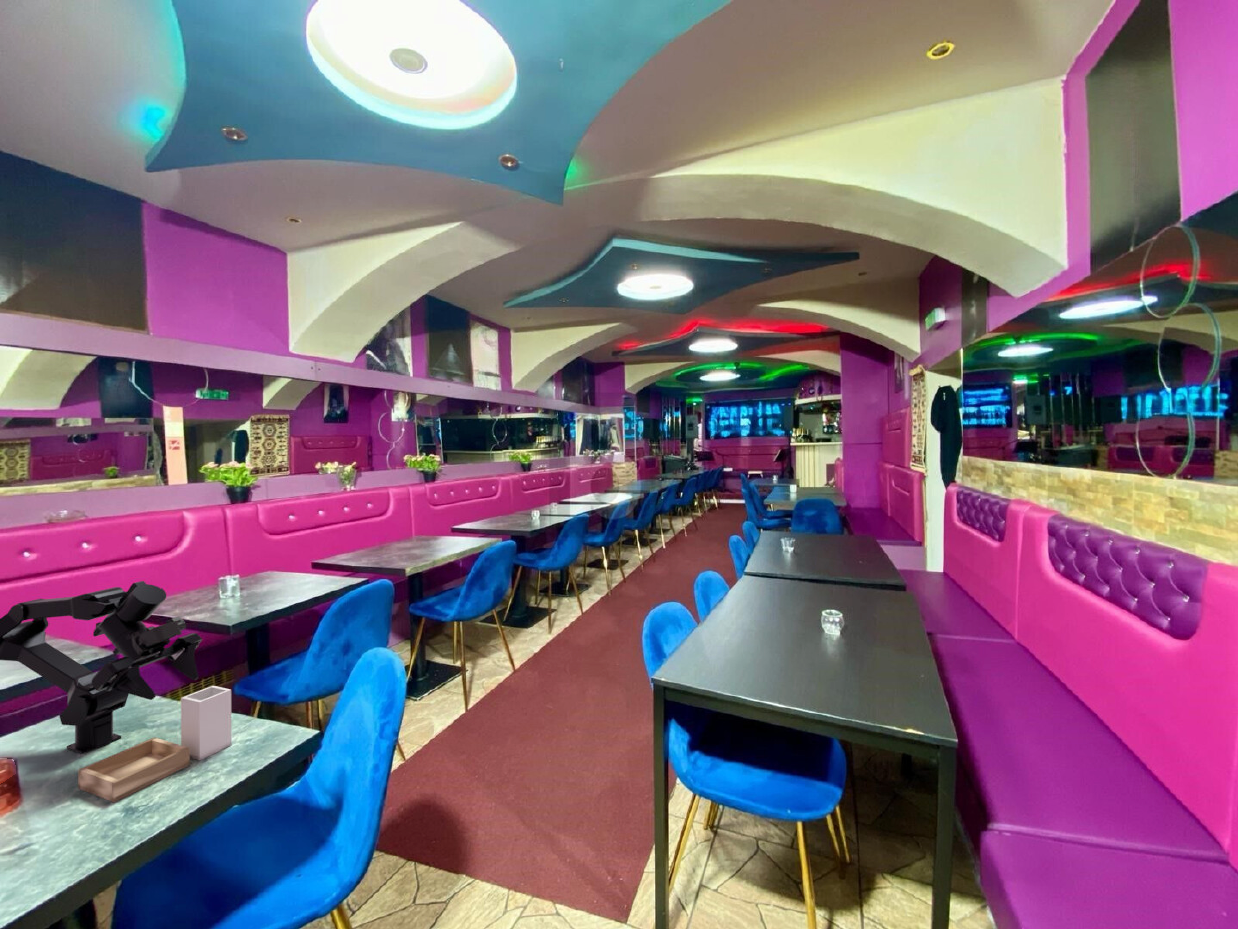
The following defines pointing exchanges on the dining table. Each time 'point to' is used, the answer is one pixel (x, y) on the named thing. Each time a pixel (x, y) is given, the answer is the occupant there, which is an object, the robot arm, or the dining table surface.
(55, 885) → the dining table surface
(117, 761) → the tray
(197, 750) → the white square vase
